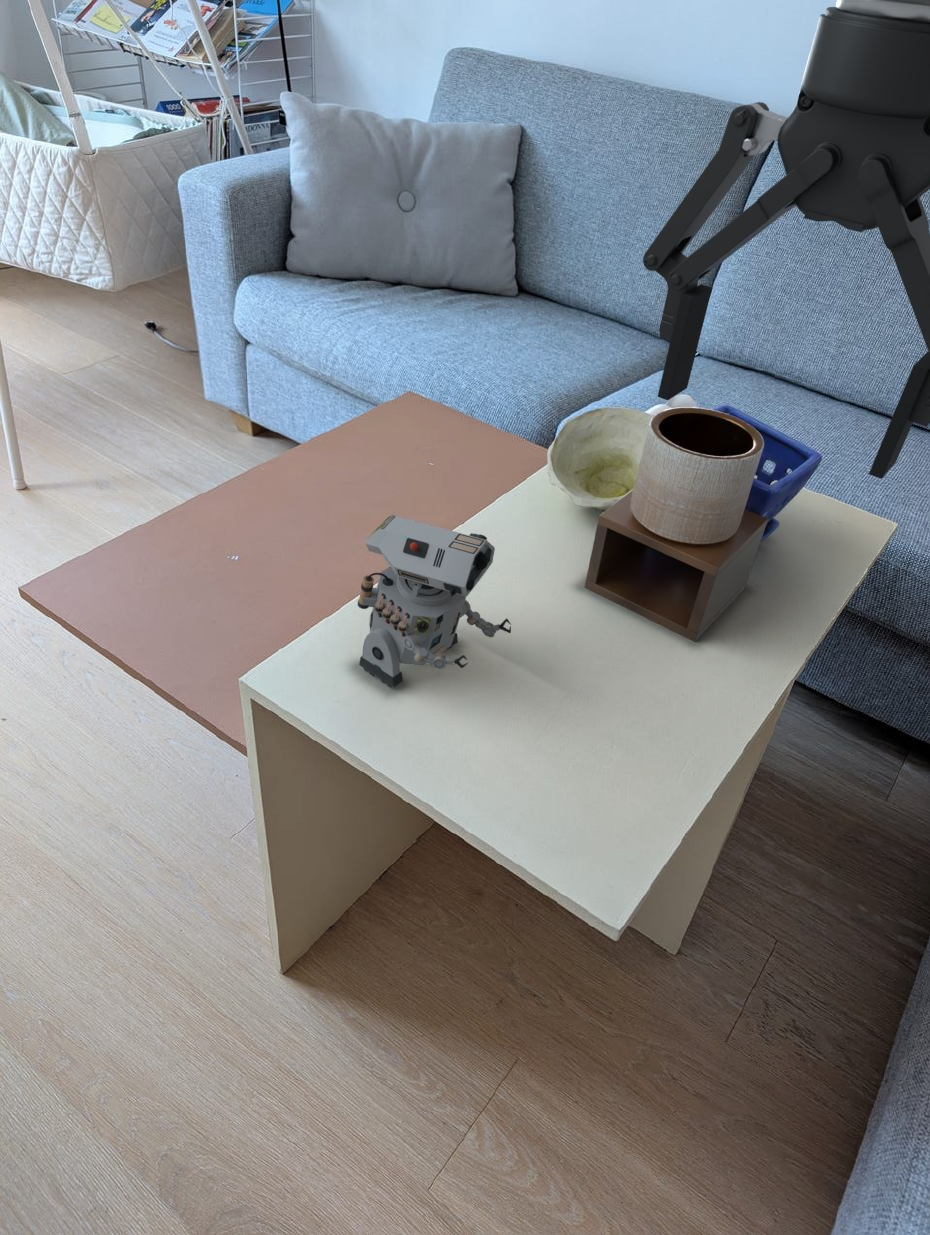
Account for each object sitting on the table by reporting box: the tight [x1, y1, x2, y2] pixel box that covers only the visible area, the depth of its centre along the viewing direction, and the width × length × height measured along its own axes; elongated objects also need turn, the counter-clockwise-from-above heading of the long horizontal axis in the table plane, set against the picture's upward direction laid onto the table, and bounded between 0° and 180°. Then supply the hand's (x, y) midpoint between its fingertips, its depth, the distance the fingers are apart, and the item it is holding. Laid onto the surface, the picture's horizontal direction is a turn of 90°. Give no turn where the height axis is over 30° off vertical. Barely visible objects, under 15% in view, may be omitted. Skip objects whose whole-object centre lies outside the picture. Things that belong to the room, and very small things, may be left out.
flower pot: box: [712, 404, 823, 543], centre depth 99 cm, size 13×13×12 cm
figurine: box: [357, 514, 512, 689], centre depth 77 cm, size 9×12×15 cm
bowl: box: [546, 406, 653, 512], centre depth 104 cm, size 15×14×10 cm
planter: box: [631, 407, 764, 545], centre depth 86 cm, size 11×11×10 cm
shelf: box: [584, 490, 768, 642], centre depth 92 cm, size 13×12×9 cm
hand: (771, 429), depth 54 cm, fingers open, 13 cm apart
